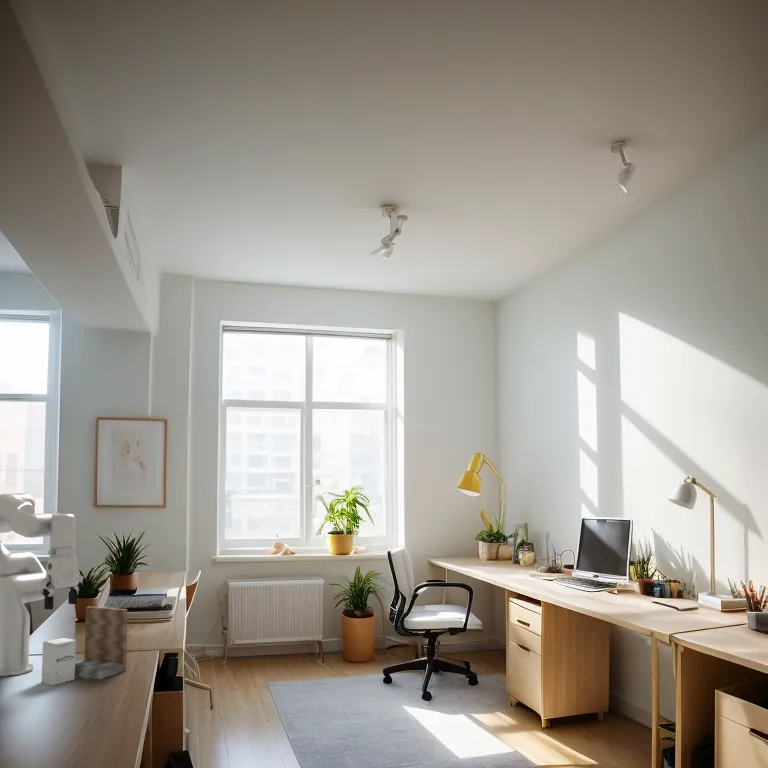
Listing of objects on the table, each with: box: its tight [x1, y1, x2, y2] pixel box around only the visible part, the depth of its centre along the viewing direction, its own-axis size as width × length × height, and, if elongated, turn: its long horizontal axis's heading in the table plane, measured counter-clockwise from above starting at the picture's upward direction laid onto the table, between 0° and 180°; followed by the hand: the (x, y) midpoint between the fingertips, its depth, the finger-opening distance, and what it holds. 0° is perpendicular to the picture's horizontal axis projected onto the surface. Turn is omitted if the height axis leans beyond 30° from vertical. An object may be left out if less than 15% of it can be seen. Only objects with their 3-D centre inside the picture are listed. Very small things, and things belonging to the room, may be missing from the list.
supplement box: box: [41, 637, 77, 686], centre depth 243 cm, size 7×7×13 cm
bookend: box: [75, 605, 128, 680], centre depth 253 cm, size 17×12×20 cm
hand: (60, 606), depth 245 cm, fingers open, 9 cm apart
